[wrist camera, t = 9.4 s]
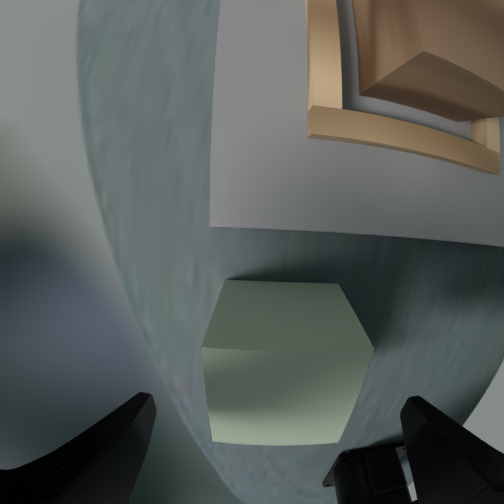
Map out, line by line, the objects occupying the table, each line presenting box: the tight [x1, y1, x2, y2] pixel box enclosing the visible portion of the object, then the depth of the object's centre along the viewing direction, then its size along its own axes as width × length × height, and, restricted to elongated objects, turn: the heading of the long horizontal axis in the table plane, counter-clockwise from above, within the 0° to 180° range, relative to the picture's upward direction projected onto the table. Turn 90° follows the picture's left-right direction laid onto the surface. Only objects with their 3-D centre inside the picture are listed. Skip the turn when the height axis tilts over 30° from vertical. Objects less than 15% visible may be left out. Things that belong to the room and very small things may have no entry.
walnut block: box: [352, 0, 504, 122], centre depth 5 cm, size 5×5×5 cm
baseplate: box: [210, 0, 504, 247], centre depth 8 cm, size 16×16×2 cm
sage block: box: [201, 280, 374, 445], centre depth 10 cm, size 5×5×5 cm
